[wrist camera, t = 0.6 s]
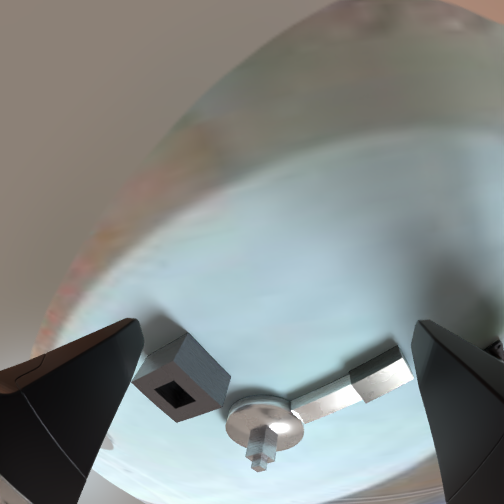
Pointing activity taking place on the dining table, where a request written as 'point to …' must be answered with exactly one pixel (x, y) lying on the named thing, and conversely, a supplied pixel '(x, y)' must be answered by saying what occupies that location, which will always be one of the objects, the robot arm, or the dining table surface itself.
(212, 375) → the socket
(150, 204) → the dining table surface
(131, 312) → the dining table surface
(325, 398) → the ratchet
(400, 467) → the dining table surface
